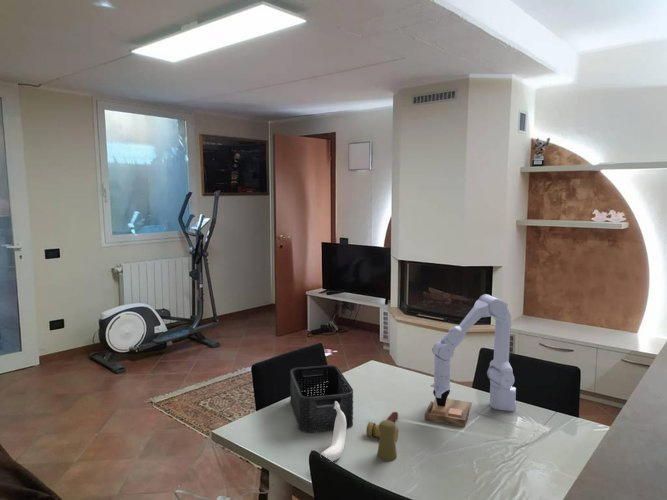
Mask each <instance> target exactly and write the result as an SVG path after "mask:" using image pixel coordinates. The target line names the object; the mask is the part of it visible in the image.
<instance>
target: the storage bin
mask: <svg viewBox="0 0 667 500" xmlns="http://www.w3.org/2000/svg"><path fill="white" fill-rule="evenodd" d="M314 371H323V373H322V374H313V375H304V374H303V372H314ZM289 377H290V380H289V381H290V385H289V386H290V390H289V391H290V398H289V399H290V405H291V408H292V411H293V414H294V418H295V420H296V422H297V426H298V429H299V430H300V431H301V432H302V433H306V434H310V433H311V434H313V433H319V432H320V433H321V432H328V431H329V432H330V431H334V424H335V419H336V416H337V411H336V409H334V406H335V401H337V402H338V404H339V405H340V410H341V411H342V412H343V413H344V415H345V417H346V430H347V429H350V428H353V425H354V422H353V421H354V416H353V415H354V389H353V387H352V385H351V384H350V383H349V381H348V380H347V378H346V377H345V376H344V374H343V373H342V371H341V370H340V368H339V367H338V366H337V365H333V364H331V365H330V364H326V365H317V366H305V367H304V366H303V367H294V368H292V369H290V375H289Z"/></svg>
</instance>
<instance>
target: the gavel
mask: <svg viewBox="0 0 667 500" xmlns="http://www.w3.org/2000/svg"><path fill="white" fill-rule="evenodd" d="M398 414H399V412H398V411H393V412H392V413H391V414H390V415H389V416H388V417H387V419H386V420H390V421H392V422H394V423H395V421H397V419H398V417H399V415H398ZM365 433H366V436H367V437H369V438H370V437H371V438H374V437H375V438H379V439H380V433H381V432H380V430H379V424H376V423H375V422H371V421H369V422H368V423H367V425H366V432H365ZM394 438H395V443H396V442H397V441H398V438H399V428H398V427H397V426H396V430H395V433H394Z"/></svg>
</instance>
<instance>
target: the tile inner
mask: <svg viewBox="0 0 667 500" xmlns="http://www.w3.org/2000/svg"><path fill="white" fill-rule="evenodd" d="M448 416H450V417H456V418H462V417H463V410H459V409H453V408H450V410H449V412H448Z"/></svg>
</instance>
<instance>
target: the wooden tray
mask: <svg viewBox="0 0 667 500" xmlns="http://www.w3.org/2000/svg"><path fill="white" fill-rule="evenodd" d="M434 398H435V397H434ZM472 404H473V402H472V401H468V400H467V401H465V400H459V399H453V398H448V397H447V400H446V405H445V407H447V415H446V416H445V415H439V414H433V408H434V406H435V405H437V401H436V398H435V399H434V400H433V401H430V403H429V405H428V407H427V408H426V410H425V413H424V420H425V421H429V422H434V423H441V424H446V425H452V426H455V427H456V426H457V427H462V428H465V427H466V425H467V421H468V418H469V415H470V412H471V409H472ZM450 408H453V409H459V410H463V417H462V418H456V417H450V416H448V412H449V410H450Z"/></svg>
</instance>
